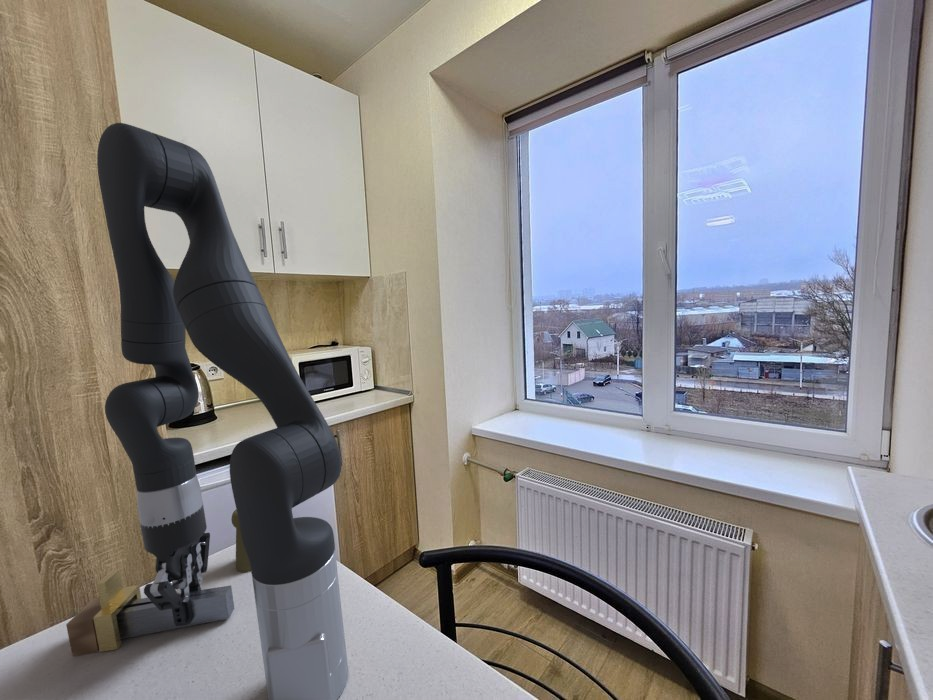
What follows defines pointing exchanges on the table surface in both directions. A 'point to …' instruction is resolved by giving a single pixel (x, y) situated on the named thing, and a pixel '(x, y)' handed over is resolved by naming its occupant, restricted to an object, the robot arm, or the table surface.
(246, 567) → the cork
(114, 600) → the collar
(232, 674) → the table surface
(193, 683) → the table surface
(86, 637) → the block
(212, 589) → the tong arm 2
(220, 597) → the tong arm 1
